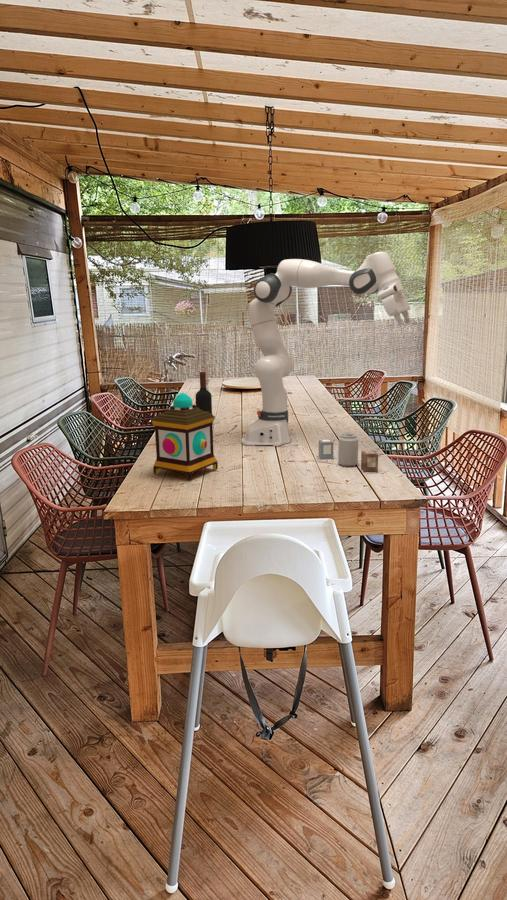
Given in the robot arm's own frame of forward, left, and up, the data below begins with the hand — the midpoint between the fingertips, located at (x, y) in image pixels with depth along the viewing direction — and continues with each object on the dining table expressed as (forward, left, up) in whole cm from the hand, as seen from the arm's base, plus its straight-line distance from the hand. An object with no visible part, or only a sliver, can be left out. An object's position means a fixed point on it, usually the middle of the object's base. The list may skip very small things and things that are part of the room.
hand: (405, 324), depth 226 cm
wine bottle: (-80, +45, -52) cm, 106 cm away
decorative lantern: (-86, -17, -52) cm, 102 cm away
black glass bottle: (-79, +75, -52) cm, 121 cm away
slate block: (-31, -2, -52) cm, 61 cm away
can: (-24, -14, -52) cm, 59 cm away
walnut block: (-18, -23, -52) cm, 60 cm away
